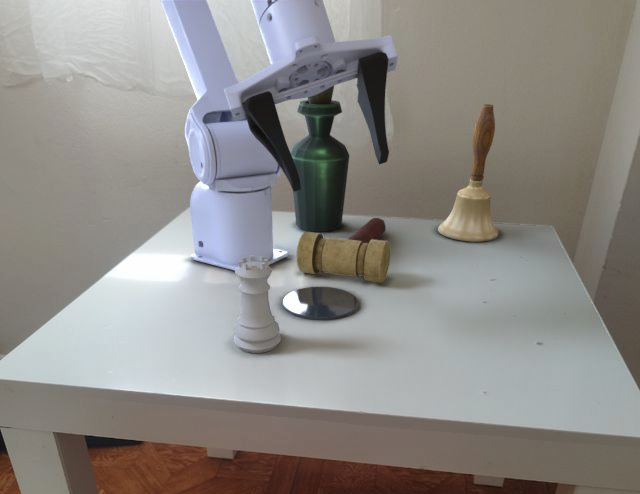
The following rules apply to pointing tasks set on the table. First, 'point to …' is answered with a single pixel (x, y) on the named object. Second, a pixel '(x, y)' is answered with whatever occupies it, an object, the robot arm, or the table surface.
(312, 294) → the coaster
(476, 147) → the hand bell
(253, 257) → the rook chess piece
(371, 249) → the gavel
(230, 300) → the table surface
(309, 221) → the potion bottle
